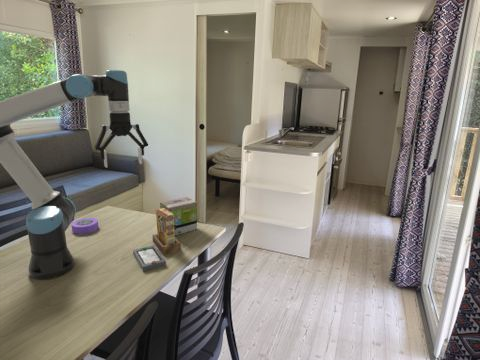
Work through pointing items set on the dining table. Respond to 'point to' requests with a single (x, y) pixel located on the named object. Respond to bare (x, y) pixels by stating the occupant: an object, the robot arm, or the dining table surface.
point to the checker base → (154, 263)
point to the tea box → (182, 214)
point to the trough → (166, 248)
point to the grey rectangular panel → (148, 256)
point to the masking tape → (84, 225)
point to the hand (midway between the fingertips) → (123, 165)
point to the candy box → (165, 226)
